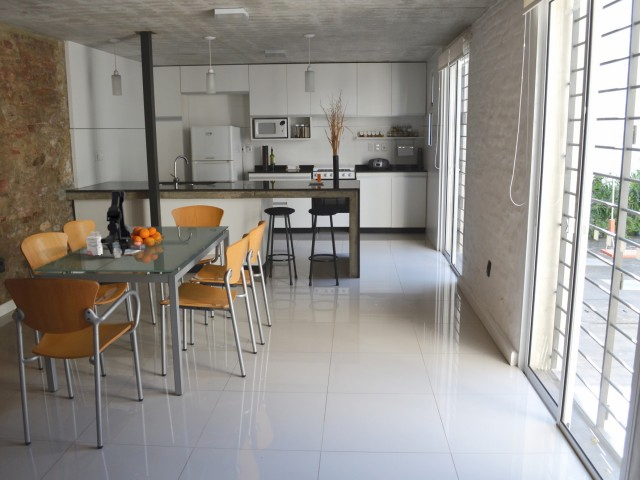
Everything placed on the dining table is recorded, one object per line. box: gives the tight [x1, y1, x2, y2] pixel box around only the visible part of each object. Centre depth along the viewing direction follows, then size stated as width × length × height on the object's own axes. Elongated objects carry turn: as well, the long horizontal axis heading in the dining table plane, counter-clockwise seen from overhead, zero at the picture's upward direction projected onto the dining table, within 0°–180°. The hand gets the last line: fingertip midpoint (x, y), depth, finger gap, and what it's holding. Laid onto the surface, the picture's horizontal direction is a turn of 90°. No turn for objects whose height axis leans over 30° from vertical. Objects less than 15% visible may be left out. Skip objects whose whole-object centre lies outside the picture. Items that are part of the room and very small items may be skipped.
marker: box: [113, 243, 122, 259], centre depth 375 cm, size 4×4×8 cm
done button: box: [133, 241, 142, 246], centre depth 397 cm, size 4×4×3 cm
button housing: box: [130, 244, 146, 251], centre depth 398 cm, size 6×6×3 cm
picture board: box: [112, 249, 145, 257], centre depth 387 cm, size 14×14×1 cm
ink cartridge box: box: [85, 230, 104, 256], centre depth 385 cm, size 9×5×15 cm, turn 71°
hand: (117, 254), depth 375 cm, fingers open, 8 cm apart
